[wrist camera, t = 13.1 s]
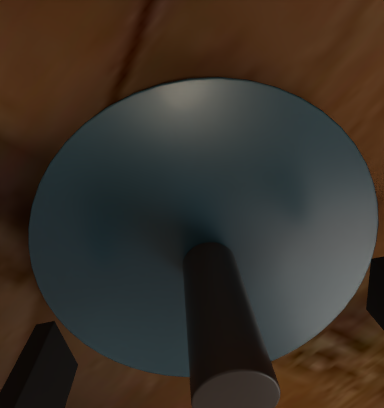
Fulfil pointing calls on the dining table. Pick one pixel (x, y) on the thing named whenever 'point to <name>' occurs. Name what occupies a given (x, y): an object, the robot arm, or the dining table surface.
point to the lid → (204, 233)
